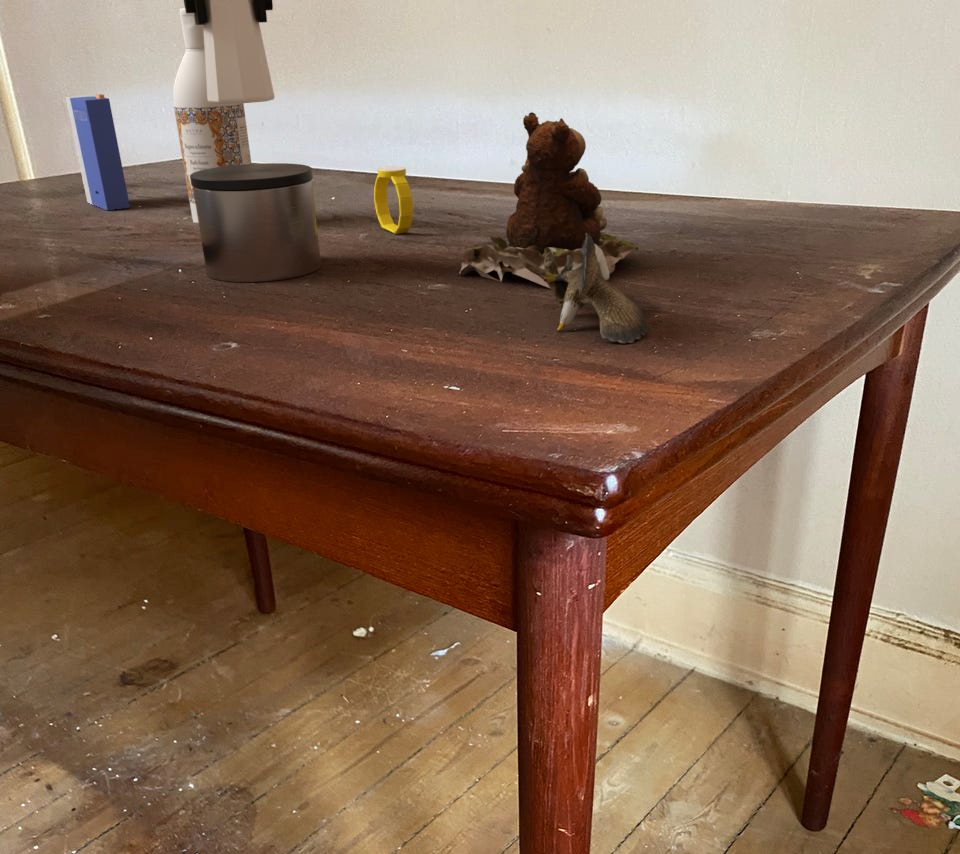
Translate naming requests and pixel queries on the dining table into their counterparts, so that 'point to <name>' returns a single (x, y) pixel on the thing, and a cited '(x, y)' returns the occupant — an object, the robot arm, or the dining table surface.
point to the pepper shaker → (235, 54)
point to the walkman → (98, 151)
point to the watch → (403, 194)
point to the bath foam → (204, 115)
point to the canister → (257, 221)
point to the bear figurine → (549, 209)
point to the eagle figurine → (591, 293)
